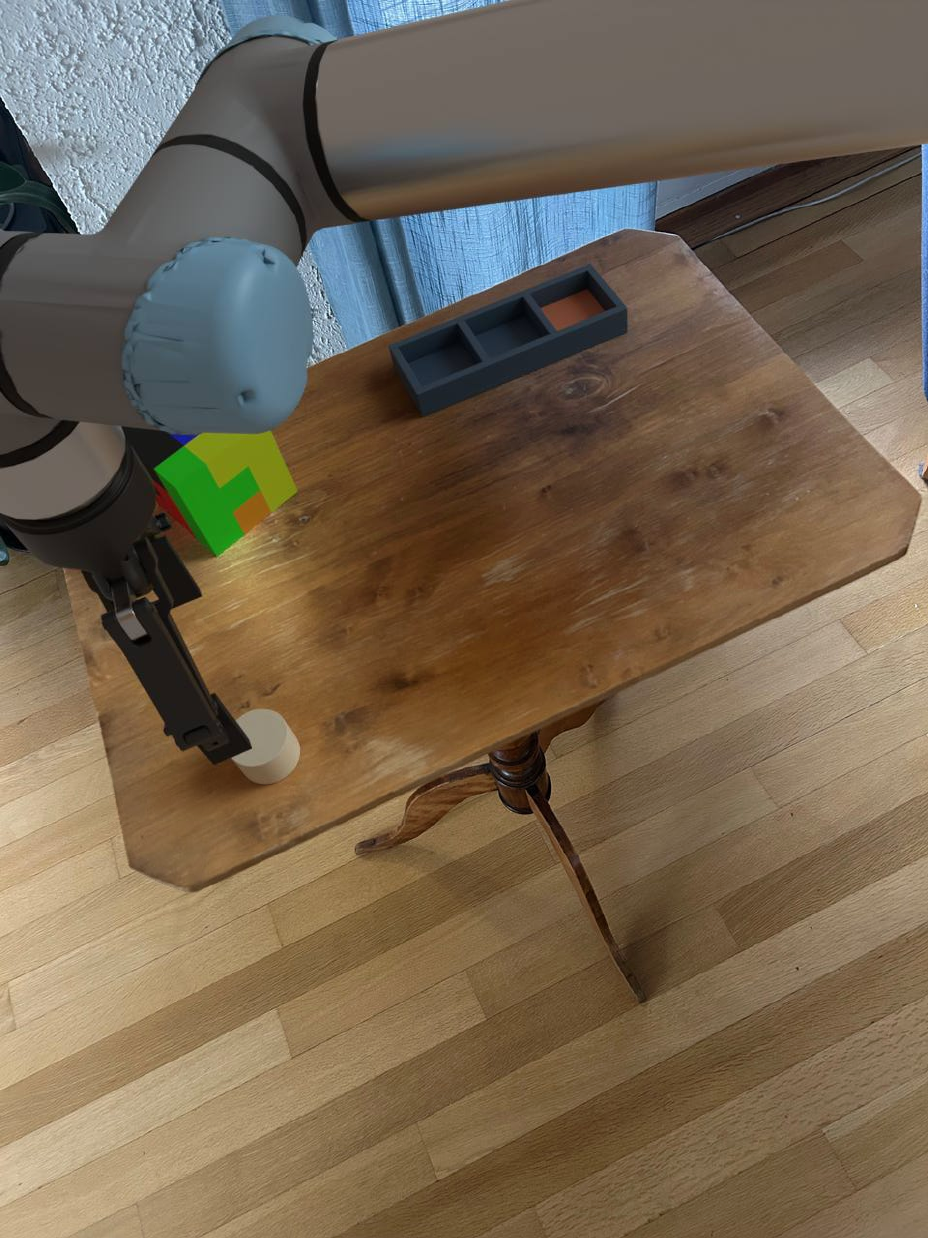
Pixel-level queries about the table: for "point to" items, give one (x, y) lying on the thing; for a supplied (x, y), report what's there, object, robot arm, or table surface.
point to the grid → (508, 339)
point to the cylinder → (267, 747)
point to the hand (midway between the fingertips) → (206, 672)
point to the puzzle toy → (214, 480)
